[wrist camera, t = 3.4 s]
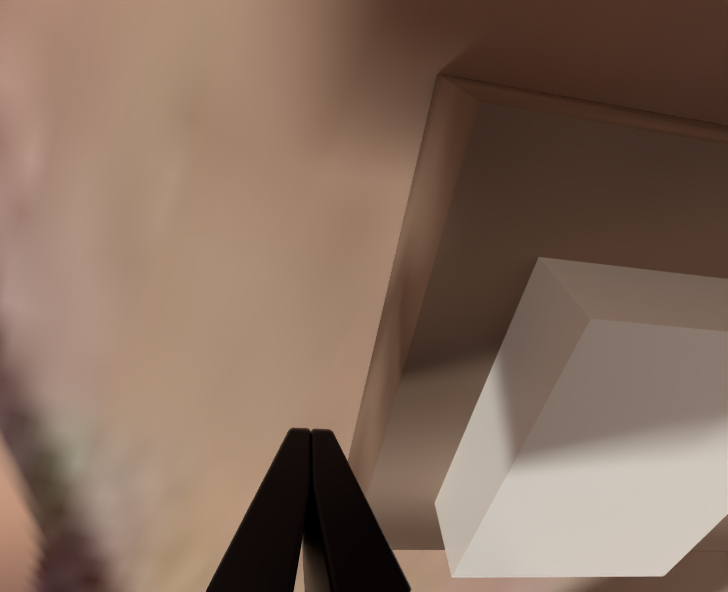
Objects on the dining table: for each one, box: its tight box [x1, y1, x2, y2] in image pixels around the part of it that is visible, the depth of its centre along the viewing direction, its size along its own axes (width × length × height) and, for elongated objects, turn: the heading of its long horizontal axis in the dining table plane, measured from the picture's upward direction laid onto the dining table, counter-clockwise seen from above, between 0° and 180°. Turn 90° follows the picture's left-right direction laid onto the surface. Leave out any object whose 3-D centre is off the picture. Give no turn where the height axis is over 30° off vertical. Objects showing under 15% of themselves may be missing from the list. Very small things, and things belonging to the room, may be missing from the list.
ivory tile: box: [435, 257, 728, 578], centre depth 10 cm, size 8×6×2 cm
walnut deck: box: [348, 74, 728, 551], centre depth 13 cm, size 13×14×3 cm
